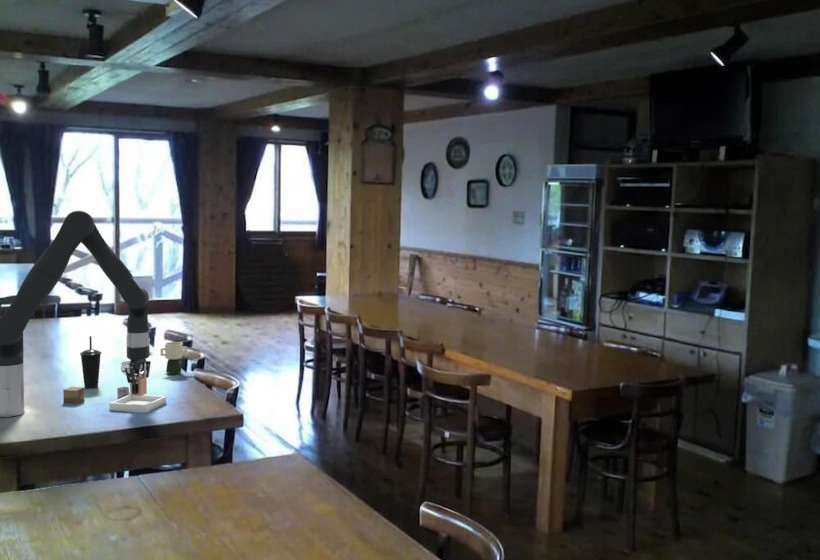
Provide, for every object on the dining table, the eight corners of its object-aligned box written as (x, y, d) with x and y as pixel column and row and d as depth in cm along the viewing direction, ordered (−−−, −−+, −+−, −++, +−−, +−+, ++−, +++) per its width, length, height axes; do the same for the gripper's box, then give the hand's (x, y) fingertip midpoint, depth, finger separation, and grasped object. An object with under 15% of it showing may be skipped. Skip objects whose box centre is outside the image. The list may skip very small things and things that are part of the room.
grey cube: (125, 400, 290) (125, 389, 290) (115, 399, 291) (115, 389, 290) (131, 397, 294) (131, 387, 294) (121, 397, 295) (121, 386, 294)
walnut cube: (76, 404, 283) (76, 390, 283) (63, 403, 284) (63, 389, 284) (84, 401, 288) (84, 387, 288) (71, 400, 289) (71, 386, 288)
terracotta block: (141, 396, 279) (140, 379, 278) (130, 395, 280) (130, 378, 279) (146, 393, 283) (146, 376, 282) (136, 392, 284) (136, 376, 283)
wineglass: (134, 396, 295) (133, 365, 294) (117, 395, 297) (117, 363, 296) (143, 392, 302) (143, 361, 301) (127, 391, 303) (127, 360, 302)
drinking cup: (80, 385, 311) (80, 335, 309) (101, 384, 314) (101, 334, 312) (80, 390, 304) (79, 338, 302) (101, 388, 307) (101, 337, 305)
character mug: (185, 371, 342) (185, 341, 341) (188, 374, 336) (188, 343, 335) (158, 372, 337) (158, 342, 336) (162, 376, 331) (162, 345, 330)
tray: (146, 412, 274) (146, 405, 273) (109, 410, 276) (109, 403, 276) (166, 403, 287) (166, 396, 287) (130, 400, 290) (130, 393, 289)
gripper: (138, 340, 287) (138, 387, 289) (117, 347, 273) (118, 396, 275) (157, 341, 286) (158, 388, 288) (137, 348, 272) (138, 397, 274)
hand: (138, 392), depth 281 cm, fingers closed on terracotta block, 4 cm apart
